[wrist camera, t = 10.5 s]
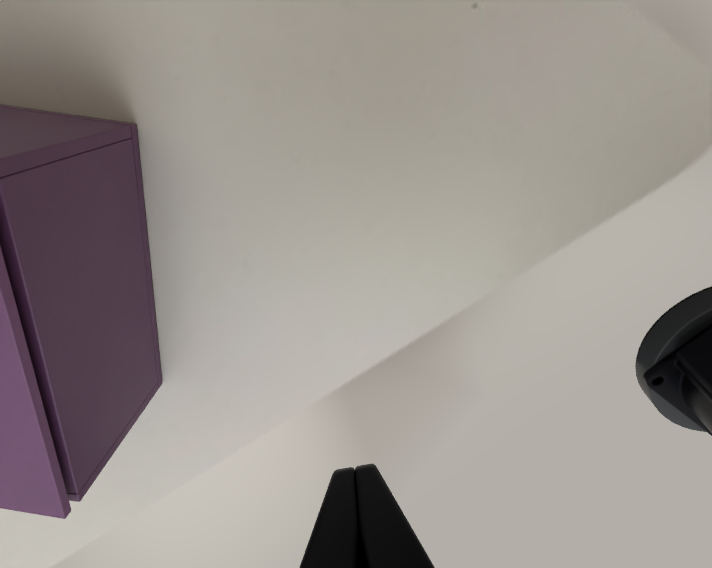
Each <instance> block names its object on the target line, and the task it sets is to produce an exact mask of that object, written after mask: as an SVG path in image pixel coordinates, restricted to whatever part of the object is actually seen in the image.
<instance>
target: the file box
mask: <svg viewBox="0 0 712 568" xmlns="http://www.w3.org/2000/svg"><path fill="white" fill-rule="evenodd" d="M0 246H1V250H2V254H3V257H4V261H5V265H6V268H7V272H8V276H9V280H10V283H11V287H12V291H13V295H14V298H15V302H16V306H17V310H18V313H19V317H20V321H21V324H22V328H23V332H24V336H25V339H26V343H27V347H28V351H29V354H30V358H31V362H32V365H33V369H34V373H35V377H36V380H37V384H38V388H39V392H40V395H41V399H42V403H43V407H44V410H45V414H46V418H47V421H48V425H49V429H50V433H51V436H52V440H53V444H54V448H55V451H56V455H57V459H58V462H59V466H60V470H61V474H62V477H63V481H64V485H65V489H66V492H67V496H68V500H71V501H78V502H79V501H81V499H82V498H83V496H84V495H85V494H86V492H87V491H88V489H89V488H90V486H91V485H92V484H93V482H94V481H95V479H96V478H97V476H98V475H99V474H100V472H101V471H102V469H103V468H104V466H105V465H106V463H107V462H108V461H109V459H110V458H111V456H112V455H113V453H114V452H115V451H116V449H117V448H118V446H119V445H120V443H121V442H122V440H123V439H124V438H125V436H126V435H127V433H128V432H129V430H130V429H131V428H132V426H133V425H134V423H135V422H136V420H137V419H138V417H139V416H140V415H141V413H142V412H143V410H144V409H145V407H146V406H147V405H148V403H149V402H150V400H151V399H152V397H153V396H154V394H155V393H156V392H157V390H158V388H159V387H160V386H161V384H162V375H161V365H160V355H159V345H158V335H157V325H156V315H155V305H154V295H153V285H152V275H151V265H150V255H149V244H148V234H147V224H146V214H145V204H144V194H143V184H142V174H141V164H140V154H139V144H138V134H137V125H136V124H133V123H126V122H119V121H112V120H105V119H98V118H91V117H84V116H77V115H70V114H63V113H56V112H49V111H42V110H35V109H28V108H21V107H14V106H7V105H0Z"/></svg>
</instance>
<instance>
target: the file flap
mask: <svg viewBox="0 0 712 568" xmlns="http://www.w3.org/2000/svg"><path fill="white" fill-rule="evenodd" d="M0 508H3V509H9V510H15V511H21V512H27V513H33V514H39V515H45V516H51V517H57V518H63V519H65V518H66V517H67V516H68V514H69V513H70V512H71V507H70V504H69V500H68V496H67V492H66V489H65V485H64V481H63V477H62V474H61V470H60V466H59V462H58V459H57V455H56V451H55V448H54V444H53V440H52V436H51V433H50V429H49V425H48V421H47V418H46V414H45V410H44V407H43V403H42V399H41V395H40V392H39V388H38V384H37V380H36V377H35V373H34V369H33V365H32V362H31V358H30V354H29V351H28V347H27V343H26V339H25V336H24V332H23V328H22V324H21V321H20V317H19V313H18V310H17V306H16V302H15V298H14V295H13V291H12V287H11V283H10V280H9V276H8V272H7V268H6V265H5V261H4V257H3V254H2V250H1V246H0Z"/></svg>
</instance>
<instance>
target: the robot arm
mask: <svg viewBox="0 0 712 568" xmlns="http://www.w3.org/2000/svg"><path fill="white" fill-rule="evenodd" d="M656 377H658V378H657V379H654V378H656ZM653 379H654V380H653ZM643 380H644V381H645V383H646V384H647V385H648V386H649V388H651V389H652V390H653V391H655V392H656V393H657V394H659V395H660V396H661V397H662V398H664V399H665V400H666V401H668V402H669V403H670V404H671V405H673V406H674V407H675V408H677V409H678V410H679V411H680V412H682V413H683V414H684V415H686V416H687V417H688V418H689V419H691V420H692V421H693V422H695V423H696V424H697V425H699V426H700V427H701V428H702V429H704V430H705V431H706V432H708V433H709V434H710V435H712V324H711V325H709V326H708V327H706V328H705V329H704V330H702V331H701V332H699V333H698V334H697V335H695V336H694V337H692V338H691V339H690V340H688V341H687V342H686V343H684V344H683V345H681V346H680V347H679V348H677V349H676V350H674V351H673V352H672V353H670V354H669V355H667V356H666V357H665V358H663V359H662V360H660V361H659V362H658V363H656V364H655V365H653V366H652V367H651V368H649V369H648V370H647V371H646V372H645V373H644V374H643ZM300 568H434V566H433V564H432V562H431V561H430V559H429V557H428V555H427V554H426V552H425V550H424V548H423V547H422V545H421V543H420V542H419V540H418V538H417V536H416V535H415V533H414V531H413V529H412V528H411V526H410V524H409V522H408V521H407V519H406V517H405V516H404V514H403V512H402V510H401V509H400V507H399V505H398V504H397V502H396V500H395V498H394V496H393V495H392V493H391V491H390V490H389V488H388V486H387V484H386V483H385V481H384V479H383V478H382V476H381V474H380V472H379V470H378V469H377V467H376V466H375V465H374V464H367V465H361V466H357V467H356V468H355V469H354V468H351V467H350V468H343V469H338V470H336V471H334V473H333V475H332V477H331V480H330V483H329V486H328V489H327V492H326V494H325V497H324V500H323V503H322V506H321V509H320V512H319V514H318V517H317V520H316V523H315V526H314V529H313V531H312V534H311V537H310V540H309V542H308V545H307V548H306V551H305V554H304V557H303V560H302V562H301V565H300Z"/></svg>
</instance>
